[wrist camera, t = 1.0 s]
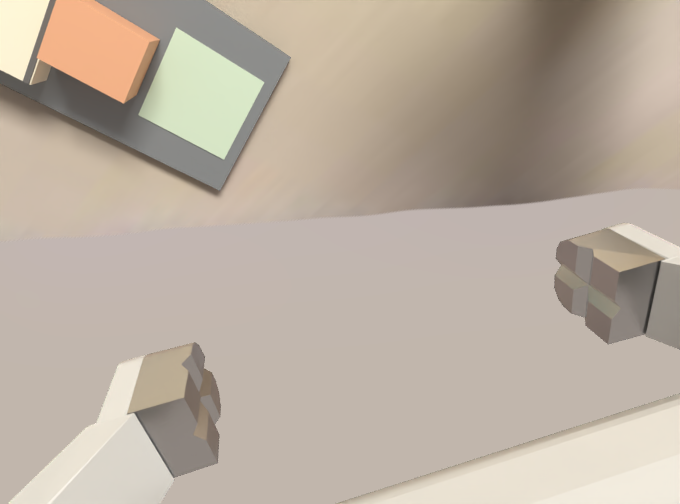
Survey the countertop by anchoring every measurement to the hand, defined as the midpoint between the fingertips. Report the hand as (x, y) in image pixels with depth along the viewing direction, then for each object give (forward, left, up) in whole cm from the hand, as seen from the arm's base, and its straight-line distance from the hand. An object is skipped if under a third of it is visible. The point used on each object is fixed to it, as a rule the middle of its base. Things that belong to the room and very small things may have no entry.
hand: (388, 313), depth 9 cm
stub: (+4, -13, -34) cm, 37 cm away
